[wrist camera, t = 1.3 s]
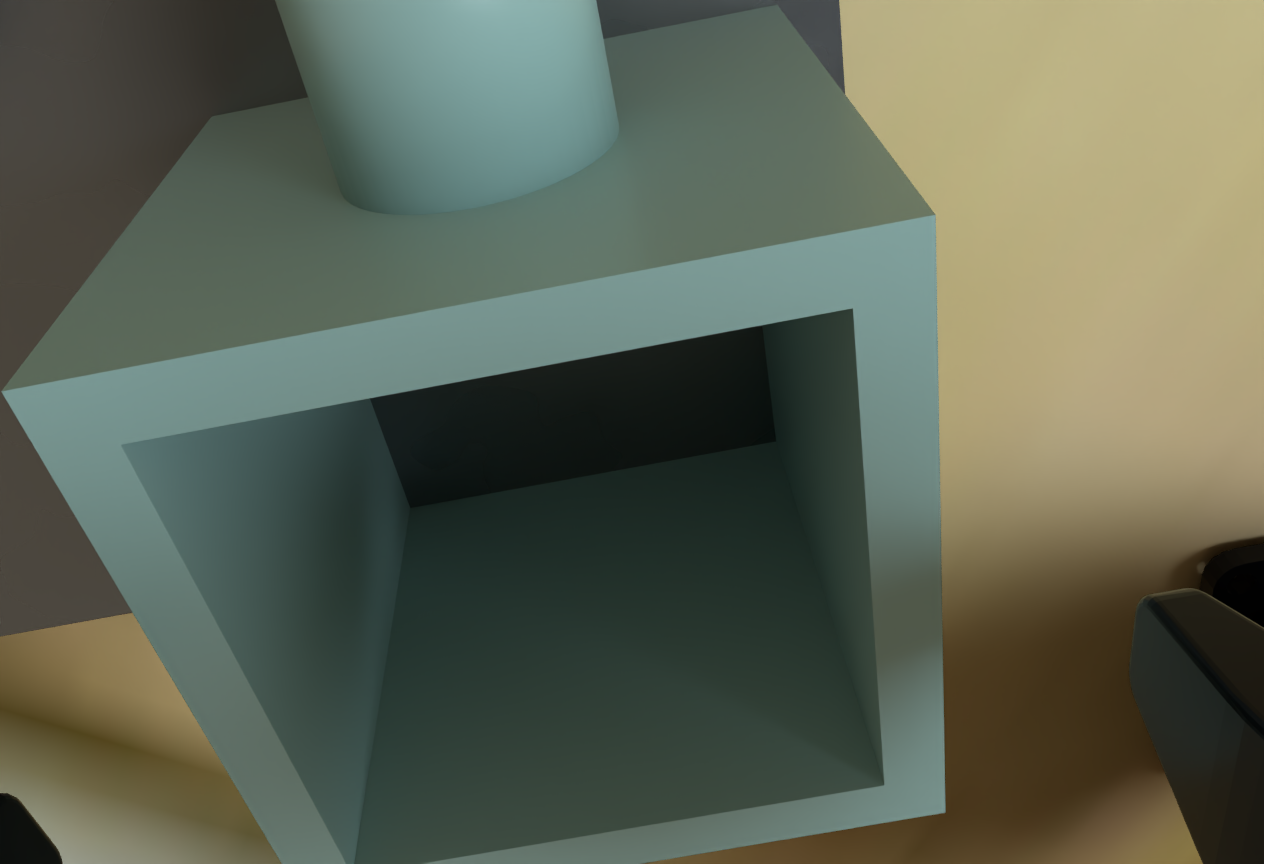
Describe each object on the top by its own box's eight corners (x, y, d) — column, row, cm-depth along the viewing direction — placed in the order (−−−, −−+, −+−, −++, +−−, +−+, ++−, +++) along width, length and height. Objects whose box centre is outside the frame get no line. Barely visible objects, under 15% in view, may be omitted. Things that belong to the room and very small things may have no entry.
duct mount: (759, -709, 10) (1003, -1149, 5) (846, 424, 18) (980, 748, 12) (-930, -333, 11) (-2356, -352, 6) (-170, 608, 18) (-466, 993, 13)
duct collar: (382, 546, 16) (313, 917, 11) (87, -198, 11) (-294, -104, 6) (820, 466, 16) (946, 813, 11) (744, -335, 11) (927, -359, 6)
